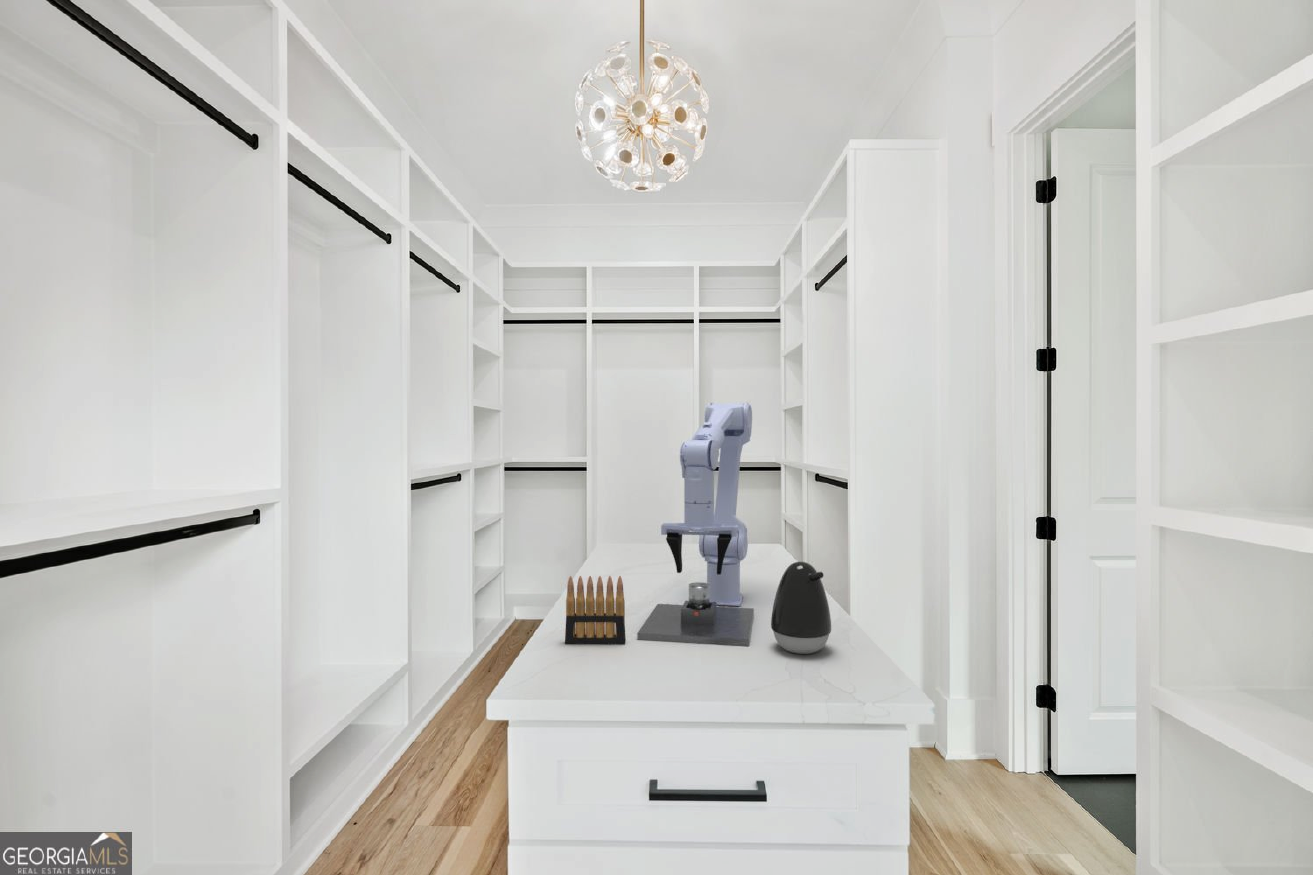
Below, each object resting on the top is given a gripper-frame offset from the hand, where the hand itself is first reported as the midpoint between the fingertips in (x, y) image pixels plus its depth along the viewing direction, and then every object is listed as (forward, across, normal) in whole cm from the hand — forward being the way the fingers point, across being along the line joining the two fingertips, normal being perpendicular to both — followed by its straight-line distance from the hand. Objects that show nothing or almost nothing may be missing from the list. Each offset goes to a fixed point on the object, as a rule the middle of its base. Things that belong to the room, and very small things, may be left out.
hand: (699, 572), depth 129 cm
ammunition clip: (+11, -17, -13) cm, 24 cm away
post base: (+10, 0, 0) cm, 10 cm away
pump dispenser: (+11, +19, -10) cm, 24 cm away
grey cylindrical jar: (+9, 0, 0) cm, 9 cm away
